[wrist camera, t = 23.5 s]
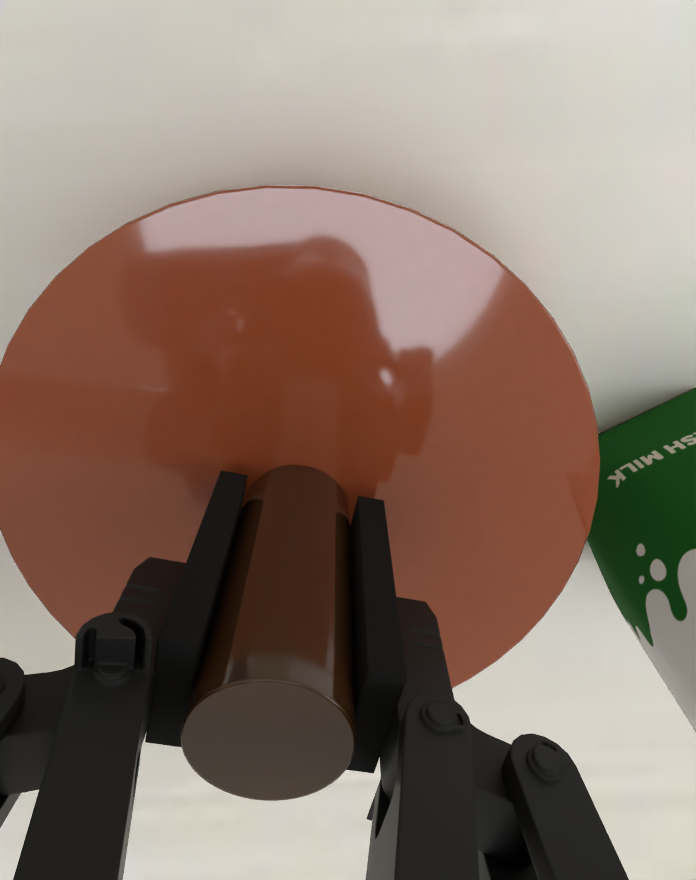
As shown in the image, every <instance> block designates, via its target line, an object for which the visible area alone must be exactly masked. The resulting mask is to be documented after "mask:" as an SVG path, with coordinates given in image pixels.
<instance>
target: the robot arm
mask: <svg viewBox="0 0 696 880" xmlns="http://www.w3.org/2000/svg"><path fill="white" fill-rule="evenodd" d="M247 477H248V475H244V474H238V473H233V472H227V471H222V470H221V471H220V474H219V477H218V479H217V482H216V485H215V487H214V490H213V492H212V495H211V498H210V500H209V503H208V506H207V508H206V511H205V514H204V516H203V519H202V522H201V524H200V527H199V530H198V532H197V535H196V538H195V540H194V543H193V545H192V548H191V551H190V553H189V556H188V559H187V561H186V563H184V562H178V561H172V560H166V559H160V558H154V557H149V558H147V559H146V560H145V561H143V562H142V563H141V564H140V565H138V566H137V567H136V568H134V570H133V572H132V574H131V576H130V578H129V580H128V582H127V584H126V587H125V588H124V590H123V592H122V594H121V596H120V599H119V600H118V602H117V604H116V606H115V608H114V610H113V612H112V613H105V614H102V615H99V616H96V617H94V618H92V619H90V620H89V621H88V622H86V623H85V624H84V625H82V626H81V628H80V630H79V631H78V633H77V635H76V643H75V665H73V666H71V667H68V668H65V669H63V670H58V671H53V672H47V673H38V674H29V675H24V671H23V670H22V669H21V668H20V666H19V665H18V664H17V663H15V662H13V661H11V660H8V659H6V658H0V827H1V826H2V824H3V822H4V821H5V819H6V817H7V816H8V814H9V812H10V811H11V809H12V807H13V805H14V804H15V802H16V800H17V799H18V797H19V795H20V794H21V793H22V792H27V791H33V790H39V789H40V790H39V793H38V796H37V800H36V803H35V807H34V810H33V814H32V817H31V820H30V824H29V827H28V831H27V834H26V838H25V841H24V845H23V848H22V851H21V855H20V858H19V862H18V865H17V869H16V872H15V875H14V879H13V880H123V873H124V866H125V859H126V852H127V845H128V838H129V831H130V825H131V818H132V811H133V804H134V797H135V790H136V783H137V776H138V770H139V762H140V753H141V746H142V743H143V740H144V737H145V734H146V741H145V742H148V743H155V744H162V745H170V746H177V747H182V745H181V738H180V737H181V727H182V723H183V719H184V716H185V712H186V709H187V705H188V701H189V698H190V694H191V691H192V688H193V685H194V681H195V678H196V674H197V670H198V667H199V663H200V659H201V656H202V652H203V649H204V645H205V641H206V638H207V634H208V631H209V627H210V623H211V620H212V616H213V612H214V609H215V605H216V602H217V598H218V594H219V591H220V587H221V584H222V580H223V576H224V573H225V569H226V565H227V562H228V558H229V555H230V551H231V547H232V544H233V540H234V536H235V533H236V529H237V526H238V522H239V518H240V515H241V511H242V506H243V500H244V495H245V489H246V483H247ZM350 540H351V575H352V609H353V644H354V679H355V714H356V748H355V752H354V756H353V758H352V760H351V762H350V764H349V766H348V767H347V769H346V770H353V771H361V772H368V773H374V771H375V768H376V765H377V762H378V759H379V757H380V769H381V780H380V783H379V785H378V788H377V791H376V794H375V797H374V799H373V802H372V805H371V808H370V810H369V813H368V816H367V819H368V820H372V819H373V820H372V829H371V838H370V847H369V855H368V864H367V873H366V880H629V879H628V877H627V875H626V872H625V870H624V868H623V866H622V864H621V862H620V860H619V857H618V855H617V853H616V851H615V849H614V847H613V845H612V842H611V840H610V838H609V836H608V834H607V832H606V829H605V827H604V825H603V823H602V821H601V819H600V817H599V814H598V812H597V810H596V808H595V806H594V804H593V802H592V799H591V797H590V795H589V793H588V791H587V789H586V786H585V784H584V782H583V780H582V778H581V776H580V774H579V771H578V769H577V767H576V765H575V764H574V762H573V761H572V759H571V758H570V756H569V755H568V753H566V752H565V751H564V750H563V749H562V748H561V747H560V746H559V745H558V744H557V743H555V742H553V741H551V740H549V739H548V738H546V737H543V736H539V735H535V734H525V735H520V736H519V737H518V738H516V739H515V740H514V741H513V743H512V745H511V744H508V743H506V742H504V741H501V740H499V739H497V738H495V737H492V736H490V735H488V734H486V733H484V732H482V731H480V730H479V729H477V728H476V727H474V726H473V725H472V724H471V723H470V720H469V716H468V715H467V714H466V712H465V711H464V709H463V708H462V706H461V705H459V704H458V703H457V702H456V701H455V700H454V697H453V692H452V687H451V683H450V678H449V673H448V668H447V664H446V659H445V654H444V650H443V645H442V640H441V637H440V631H439V626H438V621H437V617H436V616H435V614H434V613H433V611H432V610H431V609H430V607H429V606H428V604H427V603H426V602H425V601H419V600H413V599H407V598H401V597H396V590H395V582H394V574H393V567H392V559H391V551H390V543H389V536H388V528H387V520H386V513H385V505H384V500H380V499H374V498H369V497H363V496H358V498H357V502H356V506H355V510H354V514H353V518H352V521H351V525H350ZM146 731H147V732H146Z"/></svg>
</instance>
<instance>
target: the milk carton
mask: <svg viewBox="0 0 696 880" xmlns="http://www.w3.org/2000/svg"><path fill="white" fill-rule="evenodd" d="M598 441H599V453H600V470H599V484H598V497H597V502H596V506H595V511H594V515H593V520H592V524H591V529H590V532H589V535H588V537H587V540H588V542H589V545H590V547H591V549H592V552H593V554H594V557H595V559H596V562H597V564H598V566H599V568H600V571H601V573H602V575H603V577H604V580H605V582H606V584H607V586H608V589H609V591H610V593H611V595H612V597H613V599H614V601H615V602H616V604H617V606H618V608H619V610H620V611H621V613H622V615H623V617H624V618H625V620H626V622H627V623H628V625H629V626H630V628H631V630H632V631H633V633H634V634H635V636H636V638H637V639H638V641H639V642H640V644H641V646H642V647H643V649H644V650H645V652H646V654H647V655H648V657H649V658H650V660H651V662H652V663H653V665H654V666H655V668H656V670H657V671H658V673H659V674H660V676H661V678H662V679H663V681H664V682H665V684H666V686H667V687H668V689H669V690H670V692H671V694H672V695H673V697H674V698H675V700H676V701H677V703H678V705H679V706H680V708H681V709H682V711H683V713H684V714H685V716H686V717H687V719H688V721H689V722H690V724H691V725H692V727H693V729H694V730H695V732H696V388H695V389H693V390H691V391H689V392H687V393H684V394H682V395H680V396H678V397H676V398H674V399H672V400H670V401H668V402H666V403H664V404H662V405H659V406H657V407H655V408H653V409H651V410H649V411H647V412H645V413H643V414H641V415H639V416H637V417H634V418H632V419H630V420H628V421H626V422H624V423H622V424H620V425H618V426H616V427H614V428H612V429H610V430H607V431H605V432H603V433H601V434H599V435H598Z"/></svg>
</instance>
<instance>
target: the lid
mask: <svg viewBox="0 0 696 880" xmlns="http://www.w3.org/2000/svg"><path fill="white" fill-rule="evenodd" d="M221 470H222V471H227V472H233V473H238V474H244V475H248V477H247V483H246V489H245V495H244V500H243V506H242V511H241V515H240V518H239V522H238V526H237V529H236V533H235V536H234V540H233V544H232V547H231V551H230V555H229V558H228V562H227V565H226V569H225V573H224V576H223V580H222V584H221V587H220V591H219V594H218V598H217V602H216V605H215V609H214V612H213V616H212V620H211V623H210V627H209V631H208V634H207V638H206V641H205V645H204V649H203V652H202V656H201V659H200V663H199V667H198V670H197V674H196V678H195V681H194V685H193V688H192V691H191V694H190V698H189V701H188V705H187V709H186V712H185V716H184V719H183V723H182V727H181V737H180V738H181V745H182V749H183V752H184V755H185V757H186V759H187V761H188V763H189V764H190V765H191V767H192V768H193V770H194V771H195V772H196V773H197V774H198V775H199V776H200V777H202V778H203V779H204V780H206V781H207V782H208V783H210V784H212V785H213V786H215V787H217V788H219V789H221V790H223V791H225V792H228V793H230V794H233V795H236V796H240V797H244V798H249V799H255V800H266V801H277V800H288V799H294V798H299V797H303V796H306V795H309V794H312V793H315V792H317V791H319V790H321V789H323V788H325V787H327V786H328V785H330V784H331V783H333V782H334V781H335V780H336V779H338V778H339V777H340V776H341V775H342V774H343V773H344V771H345V770H346V769H347V767H348V766H349V764H350V762H351V760H352V758H353V756H354V752H355V748H356V714H355V679H354V644H353V609H352V575H351V540H350V525H351V521H352V518H353V514H354V510H355V506H356V502H357V498H358V496H363V497H369V498H374V499H380V500H384V505H385V513H386V520H387V528H388V536H389V543H390V551H391V559H392V567H393V574H394V582H395V590H396V597H401V598H407V599H413V600H419V601H425V602H426V603H427V604H428V606H429V607H430V609H431V610H432V611H433V613H434V614H435V616H436V617H437V621H438V626H439V631H440V637H441V640H442V645H443V650H444V654H445V659H446V664H447V668H448V673H449V678H450V683H451V687H452V688H453V687H455V686H457V685H459V684H461V683H463V682H465V681H467V680H469V679H470V678H472V677H473V676H475V675H476V674H478V673H479V672H481V671H482V670H484V669H485V668H487V667H488V666H490V665H491V664H493V663H494V662H496V661H497V660H498V659H500V658H501V657H502V656H503V655H504V654H506V653H507V652H508V651H509V650H510V649H512V648H513V647H514V646H515V645H516V644H517V643H519V642H520V641H521V640H522V639H523V638H524V637H525V636H526V635H527V634H528V633H529V632H530V630H531V629H532V628H533V627H534V626H535V625H536V624H537V623H538V622H539V621H540V620H541V619H542V618H543V617H544V615H545V614H546V612H547V611H548V610H549V608H550V607H551V606H552V604H553V603H554V601H555V600H556V599H557V597H558V596H559V595H560V593H561V592H562V590H563V589H564V587H565V585H566V583H567V581H568V579H569V578H570V576H571V574H572V572H573V570H574V568H575V567H576V565H577V563H578V561H579V558H580V556H581V553H582V550H583V548H584V545H585V543H586V540H587V537H588V535H589V532H590V529H591V524H592V520H593V515H594V511H595V506H596V502H597V497H598V484H599V470H600V453H599V441H598V428H597V422H596V418H595V413H594V409H593V405H592V401H591V396H590V392H589V388H588V386H587V383H586V381H585V378H584V376H583V374H582V371H581V369H580V366H579V364H578V361H577V359H576V356H575V354H574V352H573V350H572V348H571V347H570V345H569V343H568V342H567V340H566V338H565V337H564V335H563V333H562V332H561V330H560V328H559V327H558V325H557V323H556V322H555V320H554V318H553V317H552V316H551V314H550V313H549V312H548V311H547V310H546V308H545V307H544V306H543V305H542V304H541V302H540V301H539V300H538V299H537V297H536V296H535V295H534V294H533V293H532V291H531V290H530V289H529V288H528V287H527V285H526V284H525V283H524V282H522V281H521V280H520V279H519V278H518V277H517V276H516V275H515V274H514V273H512V272H511V271H510V270H509V269H508V268H507V267H506V266H505V265H504V264H502V263H501V262H500V261H499V260H498V259H497V258H496V257H495V256H494V255H492V254H491V253H489V252H488V251H486V250H485V249H483V248H482V247H480V246H479V245H477V244H476V243H474V242H473V241H471V240H470V239H468V238H467V237H465V236H464V235H462V234H461V233H459V232H458V231H456V230H455V229H453V228H452V227H450V226H447V225H445V224H443V223H441V222H439V221H437V220H435V219H433V218H431V217H429V216H426V215H424V214H422V213H420V212H418V211H416V210H414V209H412V208H410V207H407V206H403V205H400V204H397V203H394V202H391V201H387V200H384V199H381V198H378V197H375V196H371V195H368V194H365V193H360V192H354V191H348V190H342V189H336V188H329V187H323V186H317V185H275V184H267V185H259V186H250V187H242V188H234V189H226V190H219V191H215V192H212V193H208V194H204V195H201V196H197V197H193V198H190V199H186V200H182V201H179V202H175V203H171V204H169V205H166V206H164V207H162V208H160V209H157V210H155V211H153V212H150V213H148V214H146V215H144V216H141V217H139V218H137V219H135V220H132V221H130V222H128V223H126V224H124V225H123V226H121V227H120V228H118V229H116V230H115V231H113V232H112V233H110V234H109V235H107V236H105V237H104V238H102V239H101V240H99V241H98V242H96V243H94V244H93V245H91V246H90V247H88V248H87V249H86V250H85V251H84V252H83V253H81V254H80V255H79V256H78V257H77V258H76V259H75V260H74V261H72V262H71V263H70V264H69V265H68V266H67V267H66V268H64V269H63V270H62V271H61V272H60V273H59V274H58V275H57V276H55V278H54V279H53V280H52V281H51V282H50V284H49V285H48V286H47V287H46V289H45V290H44V291H43V292H42V293H41V295H40V296H39V297H38V298H37V300H36V301H35V302H34V303H33V304H32V306H31V307H30V308H29V309H28V311H27V313H26V314H25V316H24V318H23V320H22V321H21V323H20V325H19V327H18V328H17V330H16V332H15V333H14V335H13V337H12V339H11V340H10V342H9V344H8V346H7V349H6V352H5V354H4V357H3V359H2V362H1V365H0V530H1V532H2V535H3V537H4V539H5V542H6V544H7V546H8V549H9V551H10V554H11V556H12V558H13V560H14V561H15V563H16V565H17V566H18V568H19V570H20V571H21V573H22V575H23V577H24V578H25V580H26V582H27V583H28V585H29V587H30V588H31V589H32V591H33V592H34V593H35V594H36V596H37V597H38V598H39V600H40V601H41V602H42V604H43V605H44V606H45V607H46V609H47V610H48V611H49V613H50V614H51V615H52V616H53V617H54V618H55V619H56V620H57V621H58V622H59V623H60V624H61V625H62V626H63V627H64V628H65V629H66V630H67V631H68V632H69V633H70V634H71V635H72V636H73V637H74V638H75V639H76V635H77V633H78V631H79V630H80V628H81V626H82V625H84V624H85V623H86V622H88V621H89V620H90V619H92V618H94V617H96V616H99V615H102V614H105V613H112V612H113V610H114V608H115V606H116V604H117V602H118V600H119V599H120V596H121V594H122V592H123V590H124V588H125V587H126V584H127V582H128V580H129V578H130V576H131V574H132V572H133V570H134V568H136V567H137V566H138V565H140V564H141V563H142V562H143V561H145V560H146V559H147V558H149V557H154V558H160V559H166V560H172V561H178V562H184V563H186V561H187V559H188V556H189V553H190V551H191V548H192V545H193V543H194V540H195V538H196V535H197V532H198V530H199V527H200V524H201V522H202V519H203V516H204V514H205V511H206V508H207V506H208V503H209V500H210V498H211V495H212V492H213V490H214V487H215V485H216V482H217V479H218V477H219V474H220V471H221Z"/></svg>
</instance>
